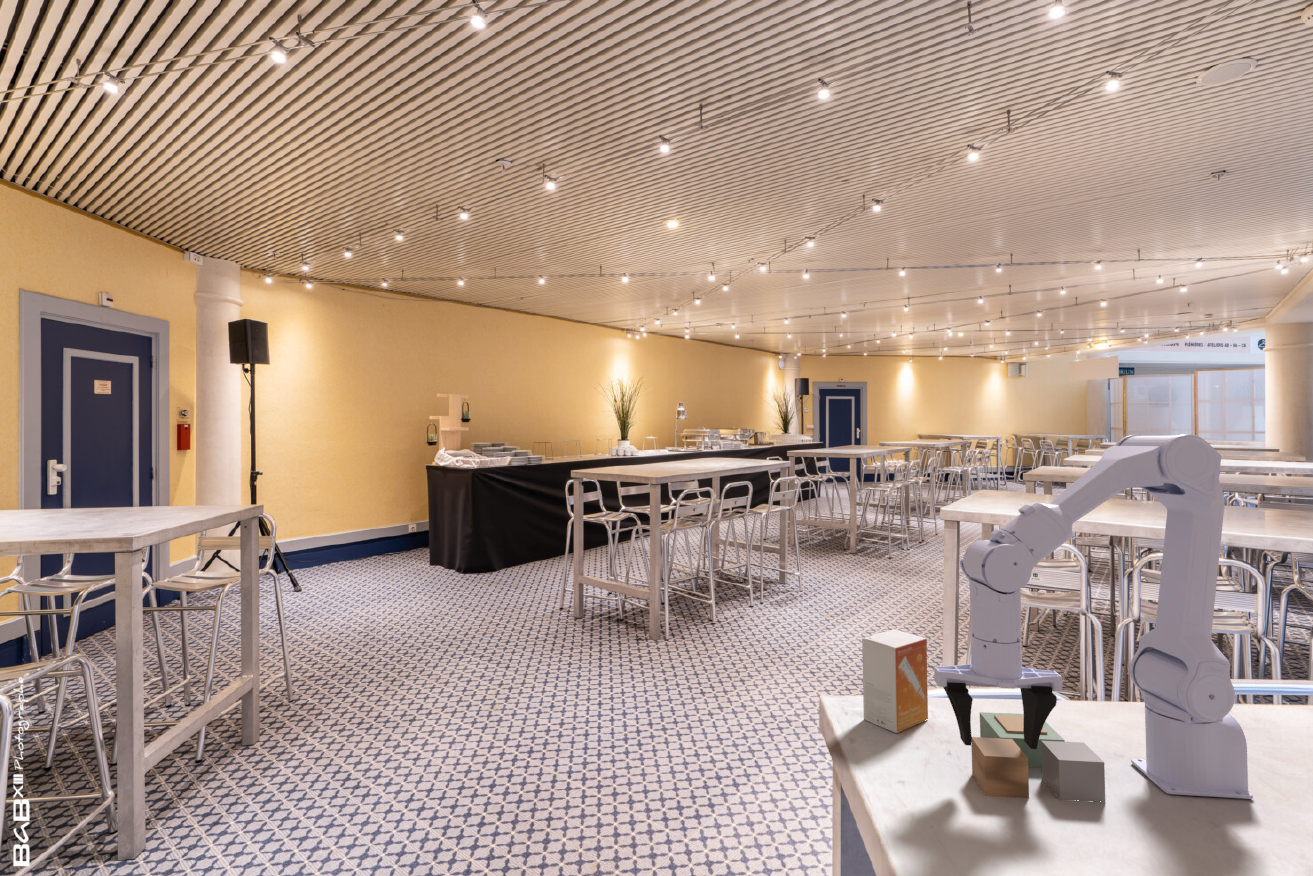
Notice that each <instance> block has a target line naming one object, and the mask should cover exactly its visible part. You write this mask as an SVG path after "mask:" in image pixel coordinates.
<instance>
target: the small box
mask: <svg viewBox="0 0 1313 876" xmlns="http://www.w3.org/2000/svg"><path fill="white" fill-rule="evenodd" d="M927 640H928V639H927V638H926V637H923V636H920V635H917V634H912V633H910V632H905V631H902V630H898V629H895V628H894V629H890V630H887V631H883V632H878V633H875V634H873V635H870V636H865V637H862V639H861V641H862V642H861V645H862V649H861V650H862V652H861V653H862V688H863V689H862V692H863V693H862V695H863V701H862V702H863V720H864V721H867V722H869V723H871V724H874V725H875V726H877V727H880V728H883V729H885V730H888V731H890V732H893V733H895V734H899V733H901V732H902V731H904V730H907V729H909V728H912V727H914V726H917V725H919V724H921V722H922V723H923V721H924V722H926V721H925V720H926V719H929V707H928V705H929V703H928V702H929V701H928V699H929V697H928V653H927V652H928V651H927V650H928V646H927V645H928V644H927ZM916 724H917V725H916Z"/></svg>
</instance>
